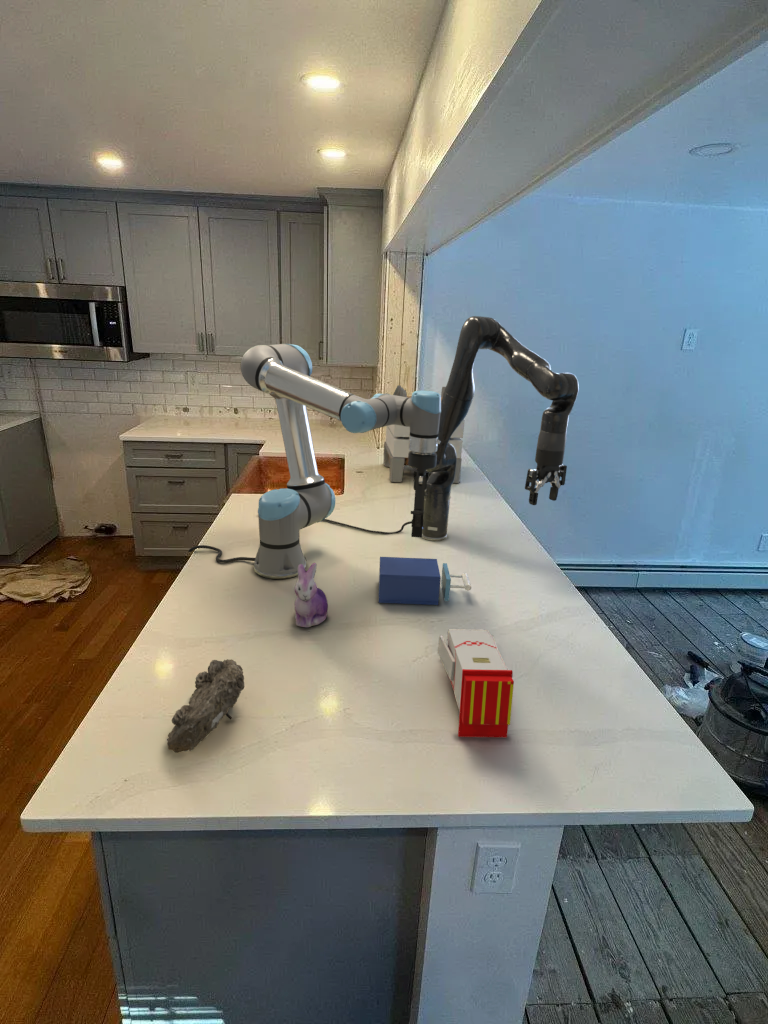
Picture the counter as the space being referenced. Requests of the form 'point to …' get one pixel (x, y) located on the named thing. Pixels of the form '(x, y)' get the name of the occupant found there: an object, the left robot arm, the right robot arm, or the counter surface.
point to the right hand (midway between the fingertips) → (542, 502)
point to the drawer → (446, 582)
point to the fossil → (206, 705)
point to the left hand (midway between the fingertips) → (417, 527)
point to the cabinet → (409, 581)
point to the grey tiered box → (399, 445)
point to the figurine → (309, 599)
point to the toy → (478, 682)
